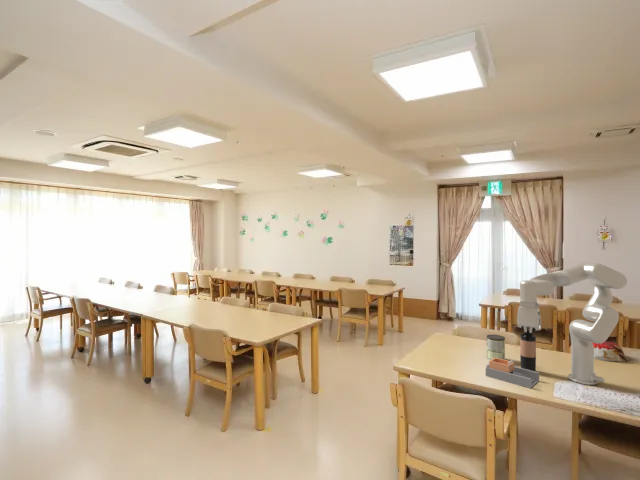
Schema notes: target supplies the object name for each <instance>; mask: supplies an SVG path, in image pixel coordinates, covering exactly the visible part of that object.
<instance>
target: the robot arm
mask: <svg viewBox="0 0 640 480" xmlns="http://www.w3.org/2000/svg"><path fill="white" fill-rule="evenodd" d="M587 280H590V283H591V286H592V289H593V293H592V295H591V297H590V298H589V299H588V301H587V303H586V305H585V306H584V308H583V309H582V313H581V314H582V316H583V318H584V319H586V320H584V319H574V320H572V321H571V322H570V324H569V326H568V327H569V328H568V331H569V335H570V342H571V345H570V347H571V350H570V351H571V352H570V356H571V359H570V360H571V365H570V367H571V369H570V370H571V371H570V372H571V373H569V374H567V378H568V379H569V380H570V381H572V382H575V383H577V382H578V383H577V384H581V385H589V386H594V385H598V382H600V383H605V378H603V377H602V376H597V375H596V372H595V359H594V347H593V343H598V344H599V343H603V342H605V341H607V340H608V338H609V337H610V336H611V334H612V332H613V331H614V329H615V328H616V327H617V324H618V322H619V318H620V315H619V311H618V310H617V309H616V308H614V307H612V306H611V304H612V302H613V299H614V298H613V293H612V289H614V290H621V289H623V288H625V287H626V286H627V284H628V279H627V277H626V276H625V274H624V273H622V272H620V271H618V270H615V269H613V268H611V267H609V266H606V265H604V264H602V263H599V262H598V263H596V262H581V263H578V264H576V265H572V266H569V267H567V268H565V269H562V270H558V271H553V272H547V273H543V274H540V275H537V276H534V277H532V278H530V279H529V280H526V279H525V280H521V281H520V283H519V306H518V309H517V317H516V318H517V319H516V322H517V325H516V326H517V327H518V328H520V329H521V330H523V332H524V334H525V338H526V340H529V341H530V340H532V339H533V335H534V332H535V331H541V330H542V328H541V326H542V318H541V312H540V311H541V310H540V308H539V307H541V303H539V302H538V296H550V295H552V294H554V292H555V290H556V287H570V286H573V285H574V284H578V283H581V282H583V281H587ZM587 320H588V321H587ZM592 342H593V343H592Z"/></svg>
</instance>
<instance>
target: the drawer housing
mask: <svg viewBox="0 0 640 480" xmlns="http://www.w3.org/2000/svg"><path fill="white" fill-rule="evenodd" d="M485 376H486V377H489V378H492V379H496V380H500V381H502V382H507V383H511V384H513V385H517V386H520V387H525V388H528V389H532V388H533V387H534V386H535V385H536V384H538V383H539V382H540V372H539V371H531V370H527V369H523V368H521V367H520V366H515V365H514V370H513V373H512V374H511V373H507V372H504V371H500V370H496V369H492V368H489V363H488V364H486V367H485Z"/></svg>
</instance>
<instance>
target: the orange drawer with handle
mask: <svg viewBox="0 0 640 480" xmlns="http://www.w3.org/2000/svg"><path fill="white" fill-rule="evenodd" d="M488 364H489V368H492V369H496V370H500V371H504V372H507V373H511V374H512V373H513V370H514V366H515V360H514V359H511V360H506V359H505V360H503V359H499V358H494V359H492V360H489V362H488Z"/></svg>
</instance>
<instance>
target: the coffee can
mask: <svg viewBox="0 0 640 480" xmlns="http://www.w3.org/2000/svg"><path fill="white" fill-rule="evenodd" d="M494 358H499V359H503V360H506V337H505V336H503V335H500V334H487V335H486V360H489V361H490V360H492V359H494Z"/></svg>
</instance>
